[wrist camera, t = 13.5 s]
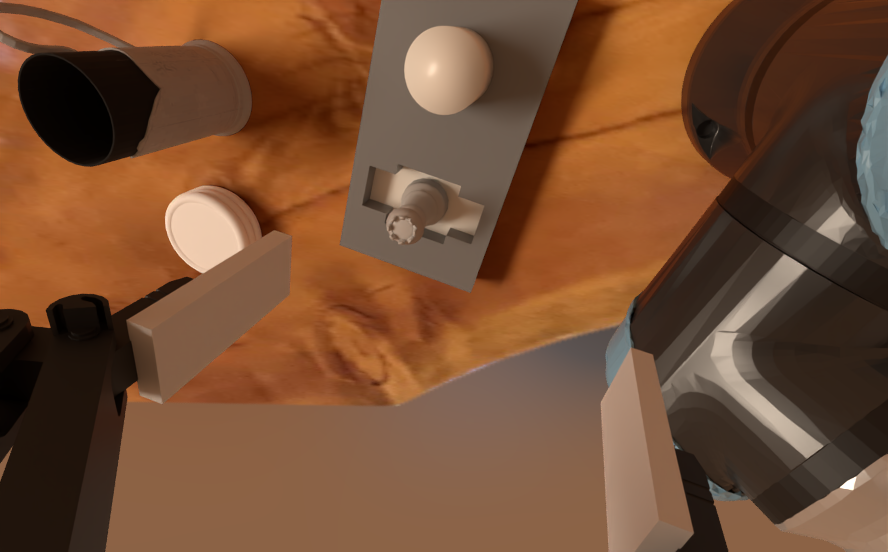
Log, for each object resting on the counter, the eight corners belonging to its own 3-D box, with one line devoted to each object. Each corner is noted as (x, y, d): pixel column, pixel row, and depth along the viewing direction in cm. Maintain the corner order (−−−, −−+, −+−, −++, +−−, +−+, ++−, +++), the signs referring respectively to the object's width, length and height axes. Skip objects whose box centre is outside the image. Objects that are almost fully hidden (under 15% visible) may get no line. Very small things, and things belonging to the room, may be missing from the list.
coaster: (188, 169, 49) (163, 178, 46) (270, 206, 49) (251, 217, 46) (183, 244, 54) (161, 257, 51) (258, 278, 54) (240, 293, 51)
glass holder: (228, 153, 47) (101, 199, 34) (112, 50, 45) (-71, 56, 32) (267, 88, 43) (139, 111, 30) (142, -30, 40) (-55, -61, 27)
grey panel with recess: (579, -5, 34) (583, -14, 27) (475, 278, 47) (460, 320, 40) (405, -59, 35) (367, -82, 28) (351, 233, 48) (316, 266, 41)
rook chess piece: (400, 212, 44) (370, 245, 38) (410, 170, 42) (381, 196, 35) (442, 228, 44) (420, 263, 37) (455, 186, 42) (434, 215, 35)
